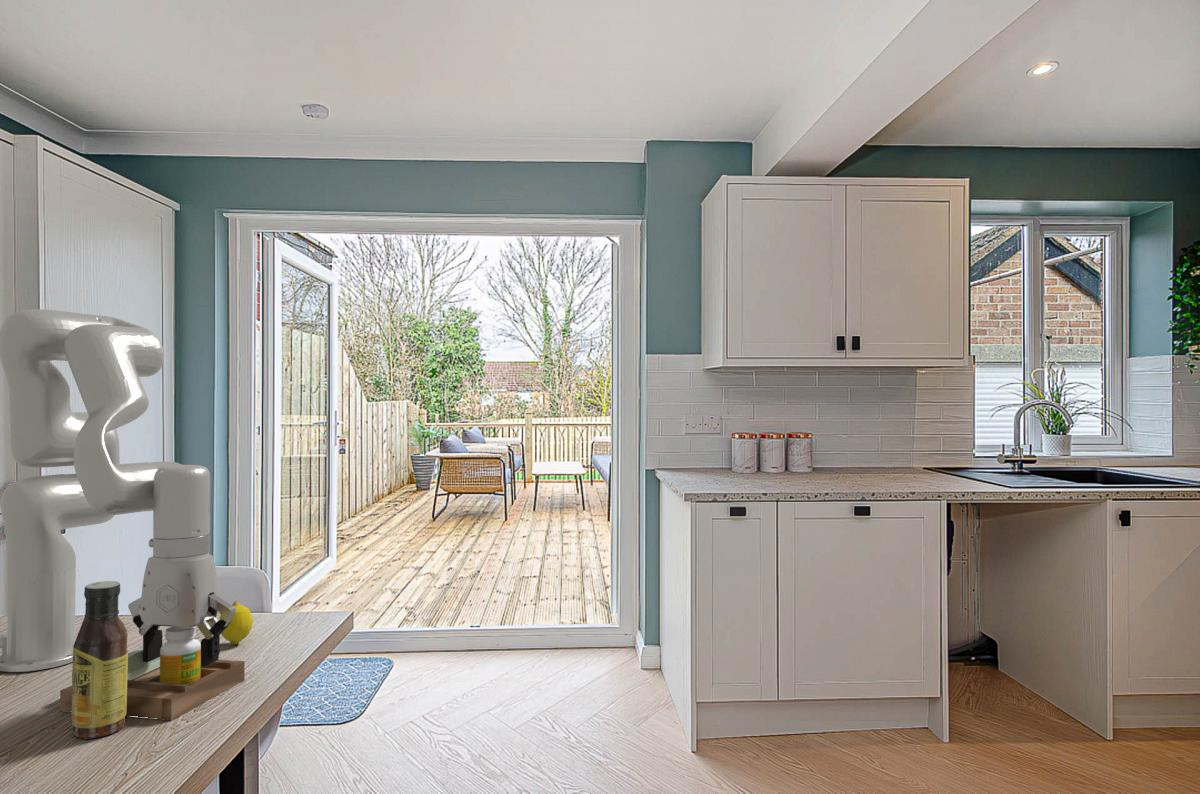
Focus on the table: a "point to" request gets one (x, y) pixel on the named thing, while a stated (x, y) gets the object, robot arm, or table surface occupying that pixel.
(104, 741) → the table surface
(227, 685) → the wooden tray
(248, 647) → the table surface
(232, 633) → the fruit
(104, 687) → the sauce bottle
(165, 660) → the supplement bottle
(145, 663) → the lid
